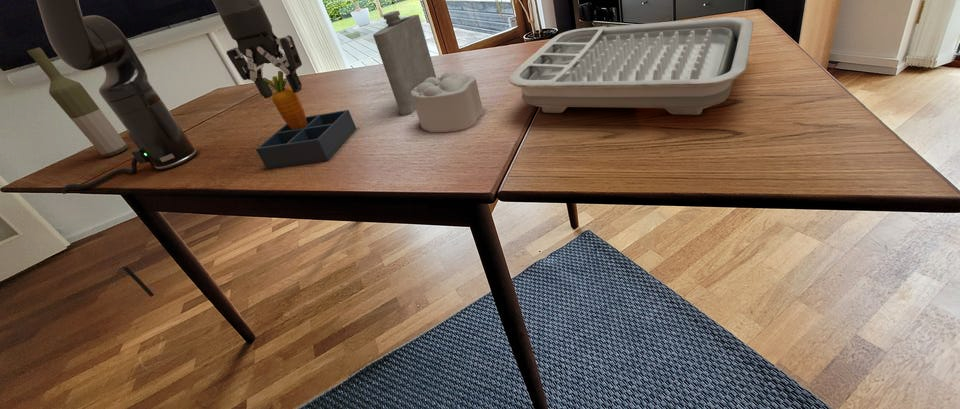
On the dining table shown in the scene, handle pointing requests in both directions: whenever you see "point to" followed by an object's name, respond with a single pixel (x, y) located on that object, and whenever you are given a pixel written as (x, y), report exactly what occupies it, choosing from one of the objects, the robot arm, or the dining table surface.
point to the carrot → (287, 103)
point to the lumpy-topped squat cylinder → (447, 102)
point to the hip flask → (404, 57)
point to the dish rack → (638, 66)
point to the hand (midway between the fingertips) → (283, 93)
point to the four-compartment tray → (307, 140)
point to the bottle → (80, 108)
